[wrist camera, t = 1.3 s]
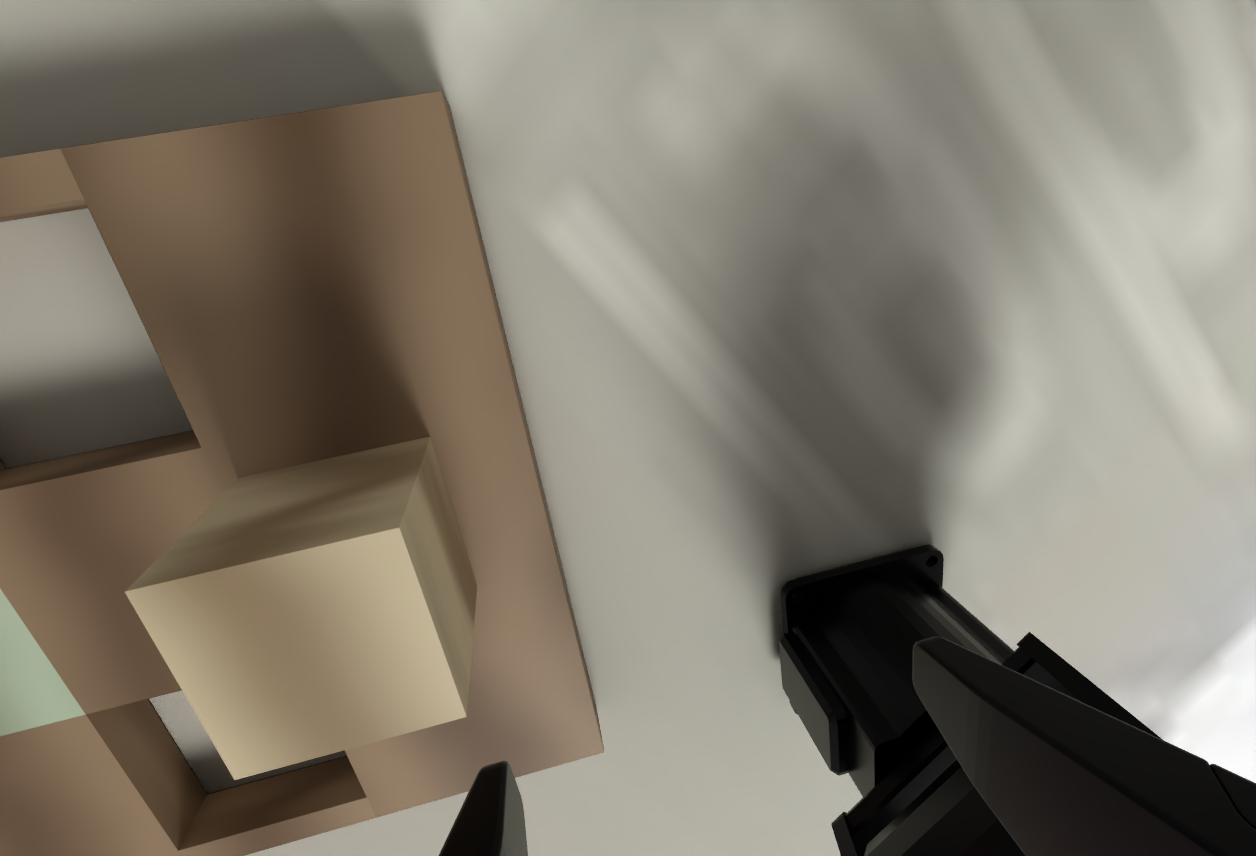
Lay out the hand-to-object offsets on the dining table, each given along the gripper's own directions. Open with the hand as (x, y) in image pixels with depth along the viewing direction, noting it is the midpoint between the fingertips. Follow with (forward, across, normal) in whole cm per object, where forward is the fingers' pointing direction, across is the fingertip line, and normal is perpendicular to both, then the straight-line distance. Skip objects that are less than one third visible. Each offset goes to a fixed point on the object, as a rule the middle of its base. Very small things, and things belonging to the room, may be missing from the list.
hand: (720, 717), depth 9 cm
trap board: (+11, +12, 0) cm, 17 cm away
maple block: (+9, +7, 0) cm, 12 cm away
